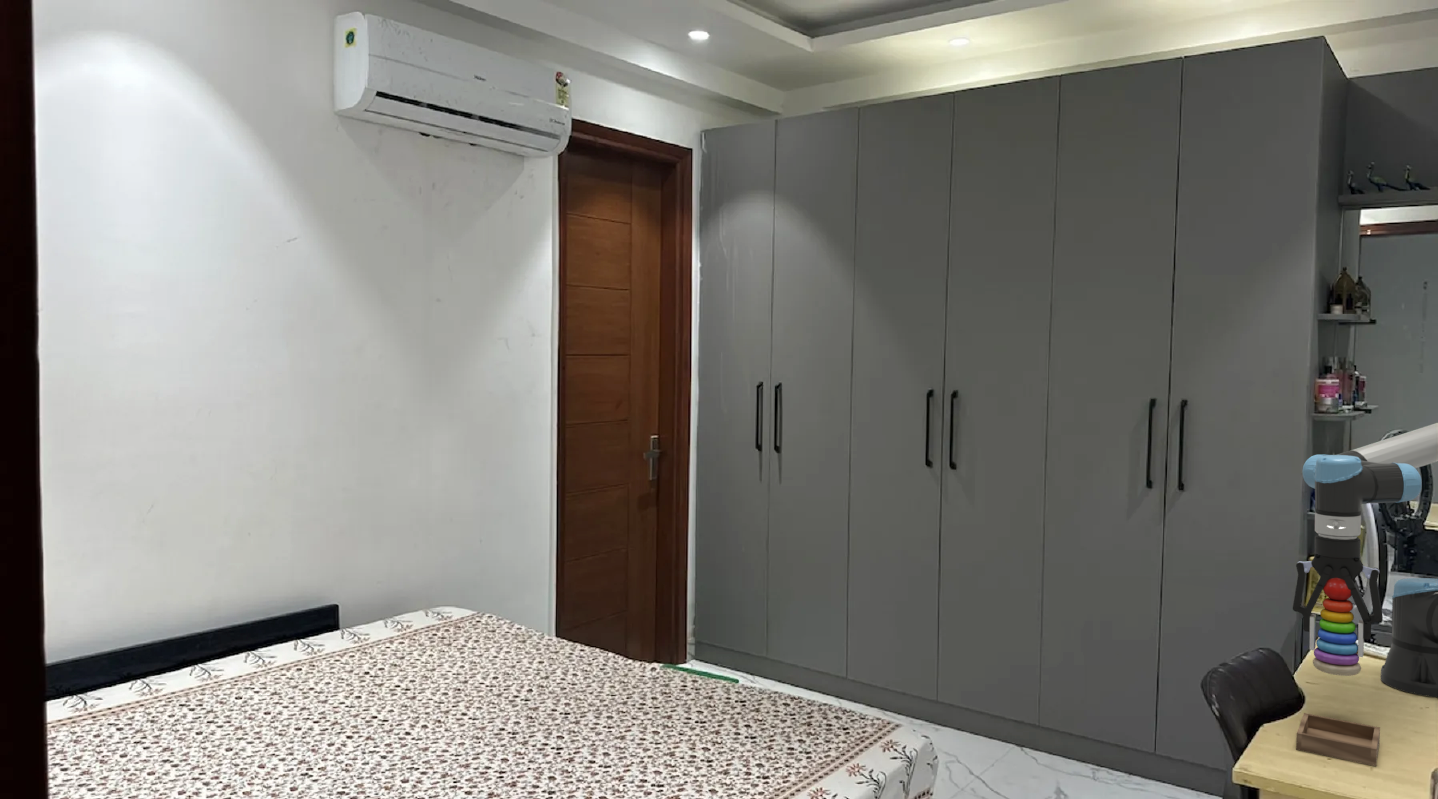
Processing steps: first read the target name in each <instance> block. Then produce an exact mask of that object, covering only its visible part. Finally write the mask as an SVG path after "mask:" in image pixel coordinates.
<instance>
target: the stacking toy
mask: <svg viewBox="0 0 1438 799" xmlns="http://www.w3.org/2000/svg"><path fill="white" fill-rule="evenodd" d="M1322 591H1323V593H1324V595H1325V596H1327V597H1326V598H1325V599H1323V600H1322V606H1323V608H1322V610H1320V613H1319V614H1320V617H1321V619H1319V622H1318V623H1319V627H1320V628H1319V629H1318V630H1317V636H1318V638H1317V640H1316V643H1315V645H1316V646H1317V647H1315V649H1314V650H1313V656H1314V657H1313V659H1312V665H1313V667H1314V668H1315V669H1317V671H1320V672H1322V673H1325V674H1330V675H1334V676H1343V677H1347V676H1349V677H1350V676H1356V675H1358V674H1359V673H1360V672H1361V671H1362V667H1361V666H1362V665H1361V664H1360V663H1359V661H1360V657H1358V635H1357V633H1356V632H1355V631H1356V628H1357V627H1356V623H1355V622H1354V621H1353V620H1355V619H1354V618H1355V616H1354V614H1353V612H1352V610H1353V608H1354V604H1353V602H1352V601H1351V600H1349V599H1350V598H1352V595H1351V590H1349V589H1348V587H1347V585H1346V582H1345V580H1343V579H1340V578H1332V579H1329V580H1328V581H1327V582H1326V584H1325V586H1324V588H1323V590H1322Z"/></svg>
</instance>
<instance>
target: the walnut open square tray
mask: <svg viewBox="0 0 1438 799" xmlns="http://www.w3.org/2000/svg"><path fill="white" fill-rule="evenodd" d="M1380 734H1381V727H1379V726H1374V725H1369V724H1365V723H1359V722H1353V721H1349V720H1343V719H1338V718H1332V717H1327V716H1322V715H1317V714H1313V713H1312V714H1311V713H1306V712H1303V715H1302V718H1301V721H1300V723H1299V726H1298V728H1297V731H1296V736H1295V737H1296V741H1295V745H1296V746H1295V749H1296V750H1297V751H1302V752H1306V753H1311V754H1316V755H1320V756H1326V757H1330V758H1335V759H1339V760H1345V761H1348V762H1349V761H1350V762H1354V763H1359V764H1363V765H1368V766H1373V767H1377V762H1378V755H1379V749H1380V742H1381V740H1380V737H1381V736H1380Z"/></svg>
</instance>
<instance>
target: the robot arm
mask: <svg viewBox="0 0 1438 799" xmlns="http://www.w3.org/2000/svg"><path fill="white" fill-rule="evenodd" d="M1437 462H1438V422H1436V423H1433V424H1429V425H1425V426H1422V427H1420V428H1417V429H1414V430H1410V431H1408V432H1405V433H1402V434H1401V433H1400V434H1398V435H1394V436H1392V437H1388V438H1386V439H1382V440H1379V441H1377V442H1372V443H1370V444H1367V445H1363V446H1361V447H1357V448H1354V449H1351V450H1347V451H1344V452H1341V453H1337V454H1325V453H1324V454H1314V455H1312V456H1310V457H1309V458H1307V459H1306V461H1305V462H1304V464H1303V466H1302V473H1301V474H1302V478H1303V480H1304V482H1305V484H1306V485H1308V487H1310V488H1312V489H1314V510H1315V511H1314V532H1316V533H1317V534H1316V535H1315V536H1314V556H1313V558H1312V560H1309V561H1307V560H1305V561H1303V560H1299V561H1297V563H1296V565H1295V567H1296V571H1297V580H1296V586H1295V593H1294V596H1293V605H1292V611H1293V612H1298V613H1299V614H1301V615H1302V617H1303V618H1302V622H1303V623H1302V625H1303V626H1302V627H1303V628H1302V630H1303V631H1304V632H1308V633H1309V650H1310V651H1314V650H1315V649H1316V642H1317V640H1316V636H1317V635H1316V626H1317V623H1316V622H1317V620H1316V619H1317V614H1315V613H1312V612H1313V609H1314V607H1315V605H1316V604H1317V601H1318V600H1319V597H1320V596H1321V594H1322V591H1323V588H1324V586H1325V584H1326V582H1327V581H1328V580H1329V579H1332V578H1340V579H1343V580H1345V582H1346V585H1347V587H1348V589H1349V590H1351V595H1352V596H1351V598H1352V599H1353V601H1354V603H1355V606H1356V608H1357V611H1358V614H1359V616H1360V617H1361V619H1359V620H1358V627H1357V629H1358V630H1357V631H1358V635H1357V644H1358V651H1357V654H1358V657H1359V658H1363V657H1364V654H1365V652H1364V651H1365V650H1364V649H1365V640H1368V641H1370V639H1371V637H1372V623H1376V622H1379V623H1380V622H1381V621H1382V620H1383V611H1382V604H1381V597H1380V591H1379V583H1378V579H1379V575H1380V568H1378V567H1373V568H1372V567H1369V566H1365V565H1364V564H1363V562H1362V559H1361V548H1362V547H1361V546H1362V545H1361V543H1362V542H1361V539H1360V537H1359V536H1360V535H1361V533H1362V531H1361V530H1362V528H1361V527H1362V505H1367V504H1383V503H1384V504H1386V503H1396V504H1399V503H1403V502H1409V501H1412V500H1413V501H1414V499H1416V498H1417V497H1418V496H1419V495H1420V493H1421V491H1422V482H1423V481H1422V477H1421V475H1420V473H1419V471H1418V470H1417V468H1421V467H1424V466H1427V465H1431V464H1434V463H1437ZM1311 568H1313V569H1314V570H1315V572H1316V573H1317V574H1318V575H1319V577H1320V578H1319V580H1318V581H1317V583H1316V585H1315V587H1314V589H1313V592H1312V593H1311V595H1310V598H1309V599H1308V602H1307V603H1306V606H1304V605H1303V597H1304V591H1305V586H1306V580H1307V573H1309V572H1310V571H1311ZM1361 573H1364V575H1365V576H1364V577H1365V578H1366V579H1367V580H1368V585H1369V592H1370V599H1371V600H1370V601H1371V606H1372V613H1370V612H1369V609H1368V607H1367V605H1366V603H1365V601H1364V598H1363V595H1362V593H1361V591H1360V589H1359V587H1358V583H1357V582H1356V581H1357V580H1356V578H1357V577H1358V576H1359V575H1360V574H1361ZM1391 597H1392V608H1391V609H1392V612H1391V613H1392V614H1391V616H1392V617H1391V646H1390V648H1389V651H1388V653H1387V656H1386V658H1385V661H1384V664H1383V665H1382V666H1381V668H1380V681H1381V682H1382V683H1384V684H1385V685H1387V686H1389V687H1390V688H1392V689H1393V688H1394V689H1396V690H1398V691H1403V692H1406V693H1409V694H1413V695H1418V696H1425V697H1433V698H1438V578H1433V577H1432V578H1431V577H1430V578H1429V577H1427V578H1426V577H1410V578H1409V577H1408V578H1401V579H1398V580H1397V581H1396V582H1395V583H1394V586H1393V593H1392V596H1391Z"/></svg>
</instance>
